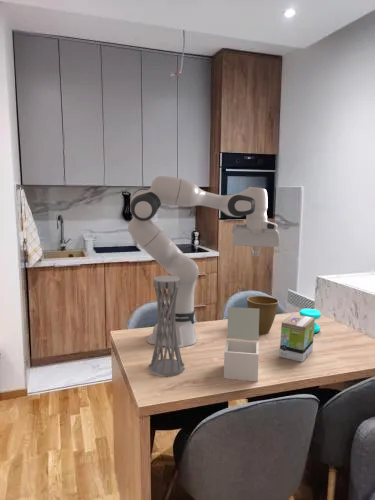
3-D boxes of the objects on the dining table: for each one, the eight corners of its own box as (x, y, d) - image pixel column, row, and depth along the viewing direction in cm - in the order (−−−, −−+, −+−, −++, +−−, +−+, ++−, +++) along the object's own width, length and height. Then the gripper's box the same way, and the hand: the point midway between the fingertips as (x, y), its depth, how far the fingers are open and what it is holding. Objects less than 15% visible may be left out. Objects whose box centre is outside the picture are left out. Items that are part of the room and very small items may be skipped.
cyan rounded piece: (323, 309, 188) (318, 315, 179) (322, 329, 189) (317, 335, 181) (302, 306, 193) (297, 311, 184) (301, 325, 194) (296, 331, 186)
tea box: (303, 362, 151) (305, 326, 149) (278, 357, 156) (280, 322, 154) (313, 350, 163) (315, 316, 161) (290, 345, 169) (291, 312, 167)
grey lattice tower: (149, 361, 151) (148, 274, 146) (183, 360, 152) (183, 274, 147) (148, 377, 138) (147, 282, 133) (185, 376, 139) (185, 282, 134)
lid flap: (228, 306, 150) (228, 307, 151) (226, 338, 147) (227, 338, 148) (259, 308, 148) (259, 308, 148) (258, 340, 145) (258, 340, 146)
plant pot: (259, 339, 176) (260, 305, 173) (240, 329, 188) (240, 297, 186) (284, 333, 183) (285, 301, 181) (263, 324, 196) (264, 294, 193)
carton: (223, 378, 137) (224, 351, 136) (226, 364, 149) (226, 339, 148) (257, 381, 135) (258, 354, 134) (257, 366, 147) (258, 341, 146)
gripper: (231, 224, 163) (231, 256, 165) (281, 225, 159) (279, 258, 161) (232, 223, 169) (232, 254, 171) (280, 224, 166) (278, 255, 167)
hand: (255, 256), depth 166 cm, fingers closed
